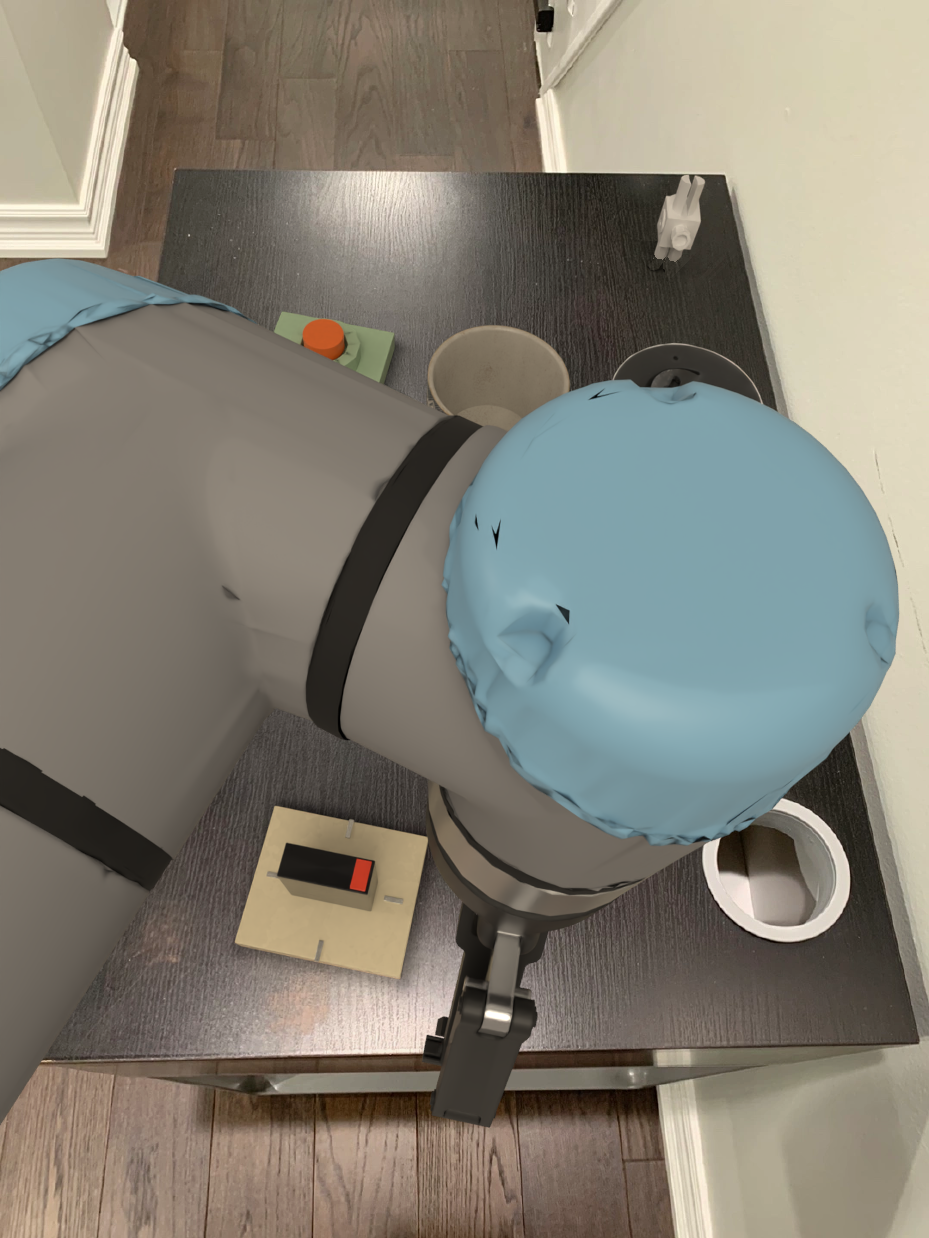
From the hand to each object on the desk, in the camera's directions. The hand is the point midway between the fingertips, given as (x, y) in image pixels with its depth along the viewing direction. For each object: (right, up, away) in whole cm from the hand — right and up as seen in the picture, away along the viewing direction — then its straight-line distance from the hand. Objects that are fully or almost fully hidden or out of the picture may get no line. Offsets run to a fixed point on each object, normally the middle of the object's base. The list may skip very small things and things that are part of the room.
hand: (485, 895), depth 46 cm
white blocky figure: (+22, +55, +51) cm, 78 cm away
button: (-15, +42, +38) cm, 59 cm away
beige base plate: (-11, -6, +18) cm, 22 cm away
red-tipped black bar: (-11, -5, +16) cm, 20 cm away
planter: (+1, +32, +38) cm, 50 cm away
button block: (-15, +41, +41) cm, 60 cm away
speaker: (+12, +18, +32) cm, 38 cm away
